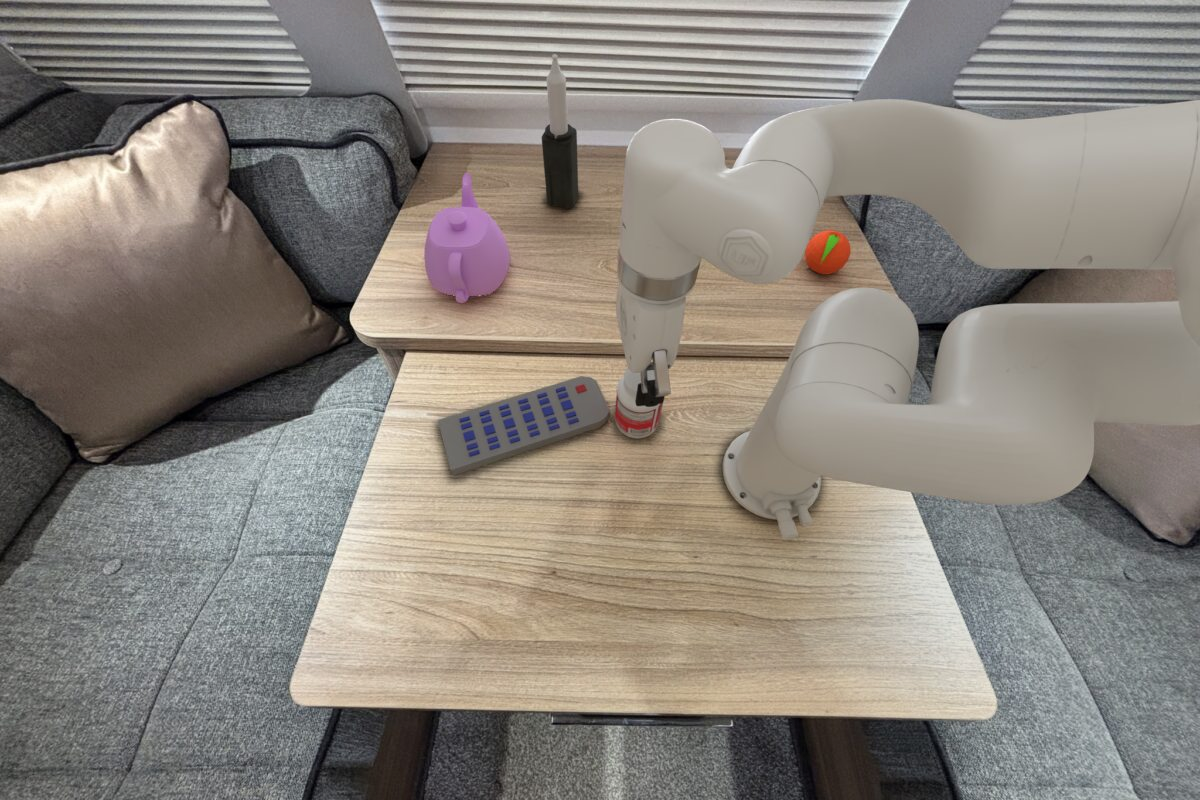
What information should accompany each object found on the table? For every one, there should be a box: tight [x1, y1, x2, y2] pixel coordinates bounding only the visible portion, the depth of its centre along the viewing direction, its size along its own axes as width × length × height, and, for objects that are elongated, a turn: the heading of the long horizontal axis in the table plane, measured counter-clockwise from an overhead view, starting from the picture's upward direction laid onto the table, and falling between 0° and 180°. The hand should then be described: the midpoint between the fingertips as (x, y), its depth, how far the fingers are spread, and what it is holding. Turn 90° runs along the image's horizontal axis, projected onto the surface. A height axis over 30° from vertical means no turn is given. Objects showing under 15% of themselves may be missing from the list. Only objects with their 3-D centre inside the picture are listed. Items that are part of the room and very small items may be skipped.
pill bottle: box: [614, 367, 664, 439], centre depth 70 cm, size 6×6×11 cm
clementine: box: [804, 230, 852, 275], centre depth 87 cm, size 8×7×7 cm
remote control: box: [437, 375, 611, 476], centre depth 73 cm, size 8×23×2 cm, turn 111°
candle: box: [541, 53, 579, 210], centre depth 88 cm, size 5×5×25 cm
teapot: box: [423, 172, 511, 304], centre depth 84 cm, size 20×13×12 cm, turn 1°
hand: (641, 368), depth 64 cm, fingers open, 9 cm apart
